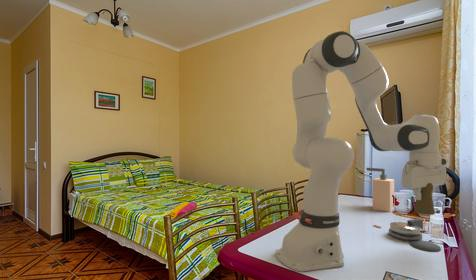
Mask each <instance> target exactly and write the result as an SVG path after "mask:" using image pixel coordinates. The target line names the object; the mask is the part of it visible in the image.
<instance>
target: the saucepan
mask: <svg viewBox="0 0 476 280" xmlns="http://www.w3.org/2000/svg"><path fill="white" fill-rule="evenodd" d="M389 225H390V226H389V229H390V230H391V231H392V232H394V233H396V234H399V235H404V236H420V233H421V232H420V231H421V229H423V228H424V220H423V219H422V218H414V219H409V220H407V222H403V221H402V222H401V221H394V222H392V221H391V222H390V223H389Z"/></svg>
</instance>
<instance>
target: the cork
mask: <svg viewBox="0 0 476 280" xmlns="http://www.w3.org/2000/svg"><path fill="white" fill-rule="evenodd" d="M432 190H433V185H432V183H428V184H427V185H426V187H421V191H420V192H421V195H423V197H422V198H423V199H422V200H416V199H415V205H414V212H415V213H416V214H420V215H425V216H426V215H427V216H429V215H430V216H433V215H435V214H436V212H435V206H434V200H433V198H432V194H431V191H432Z"/></svg>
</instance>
